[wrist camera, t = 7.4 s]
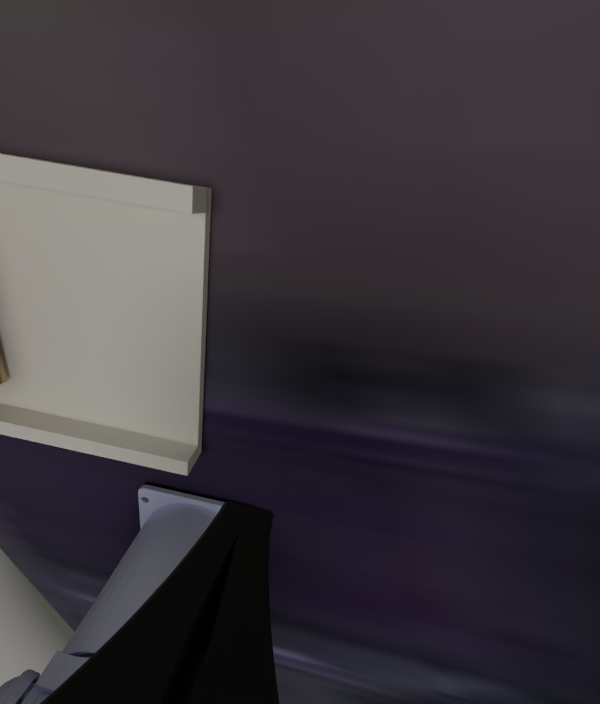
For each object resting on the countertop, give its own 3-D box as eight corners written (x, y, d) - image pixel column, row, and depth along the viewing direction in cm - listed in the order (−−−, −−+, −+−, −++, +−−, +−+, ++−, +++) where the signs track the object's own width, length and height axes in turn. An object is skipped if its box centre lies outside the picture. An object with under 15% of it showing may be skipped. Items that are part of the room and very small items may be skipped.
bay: (201, 452, 21) (187, 475, 20) (-92, 388, 23) (-130, 405, 21) (211, 188, 15) (192, 186, 13) (-193, 120, 16) (-261, 110, 15)
